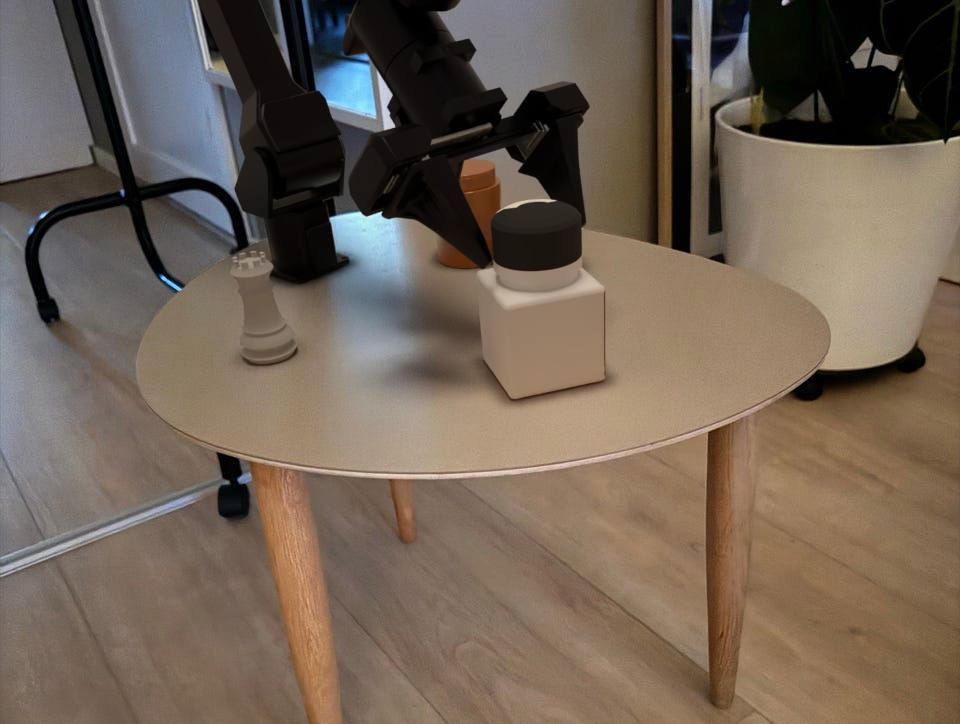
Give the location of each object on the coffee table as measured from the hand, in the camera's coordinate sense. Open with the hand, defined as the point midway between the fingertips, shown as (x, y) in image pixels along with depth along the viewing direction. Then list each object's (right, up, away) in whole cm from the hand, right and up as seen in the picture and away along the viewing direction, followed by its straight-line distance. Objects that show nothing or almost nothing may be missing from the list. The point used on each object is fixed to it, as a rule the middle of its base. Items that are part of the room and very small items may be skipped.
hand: (536, 246), depth 64 cm
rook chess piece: (-21, -6, +10) cm, 24 cm away
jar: (-5, +5, +24) cm, 25 cm away
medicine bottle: (+1, -8, +3) cm, 9 cm away
